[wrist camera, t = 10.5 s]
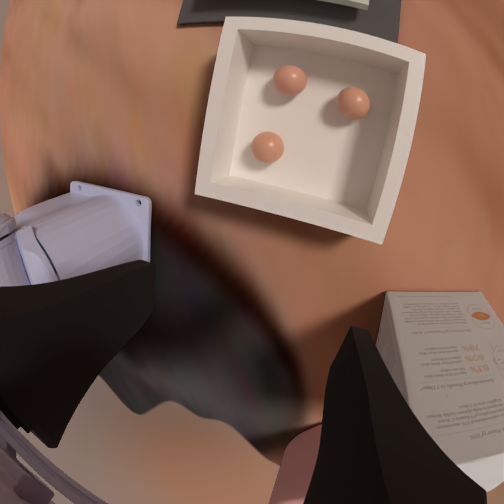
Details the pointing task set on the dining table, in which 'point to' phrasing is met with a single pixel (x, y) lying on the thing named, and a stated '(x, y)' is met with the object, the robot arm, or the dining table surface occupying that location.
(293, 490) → the cake
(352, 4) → the lid
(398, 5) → the mat
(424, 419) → the small box
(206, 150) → the shallow white tray
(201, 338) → the dining table surface
